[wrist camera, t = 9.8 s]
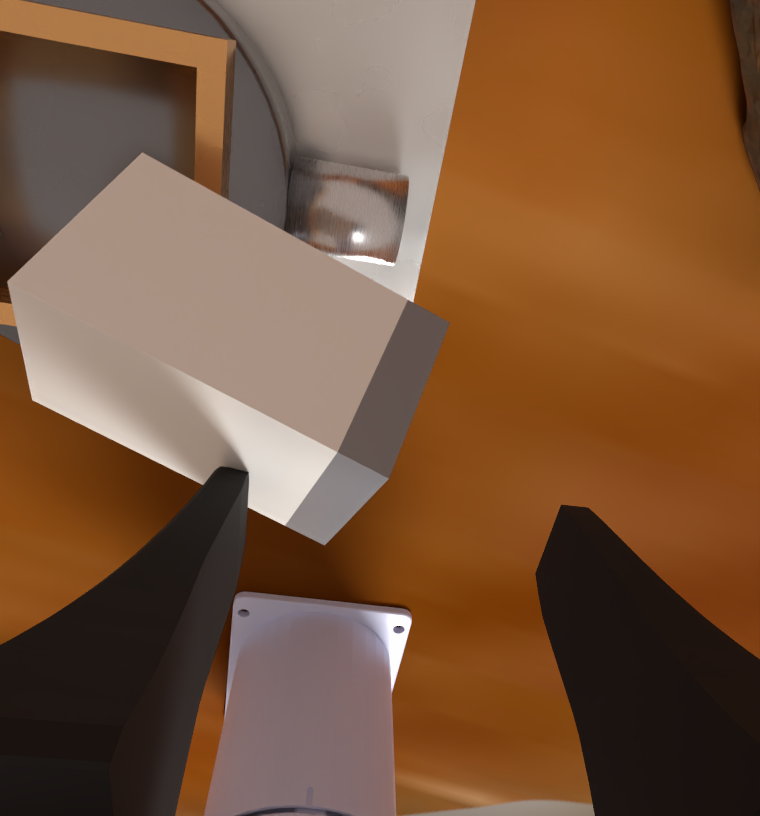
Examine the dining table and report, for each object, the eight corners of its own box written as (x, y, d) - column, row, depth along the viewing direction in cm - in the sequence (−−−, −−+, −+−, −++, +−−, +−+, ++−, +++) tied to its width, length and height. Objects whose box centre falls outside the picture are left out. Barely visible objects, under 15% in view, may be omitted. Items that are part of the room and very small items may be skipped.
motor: (398, 352, 22) (406, 427, 18) (-152, 270, 20) (-294, 331, 16) (475, -23, 17) (513, -47, 12) (-267, -180, 15) (-529, -272, 10)
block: (135, 280, 16) (382, 411, 16) (32, 399, 13) (324, 545, 14) (142, 152, 12) (449, 322, 13) (7, 281, 10) (388, 478, 11)
